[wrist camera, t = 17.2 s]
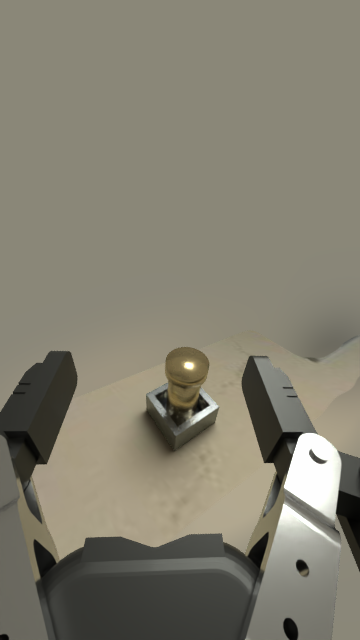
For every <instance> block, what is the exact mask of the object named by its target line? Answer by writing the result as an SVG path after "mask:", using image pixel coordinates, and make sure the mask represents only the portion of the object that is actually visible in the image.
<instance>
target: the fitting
mask: <svg viewBox="0 0 360 640" xmlns="http://www.w3.org/2000/svg"><path fill="white" fill-rule="evenodd" d="M208 370H209V361H208V358H207V357H206V356H205V355H204V354H203V353H202V352H201V351H199V350H197V349H194V348H190V347H181V348H177V349H174V350H173V351H171V352H170V353H169V354H168V355H167V357H166V365H165V374H166V377H167V379H168V393H167V405H166V412H167V413H168V415H169V416H170V417H171V419H172V420H173V421H174V423H175V424H176V425H177V427H178V426H180V425H181V424H183V423H184V422H186V421H187V420H189V419H190V418H192V417H193V416H195V412H196V407H197V402H198V397H199V393H200V388H201V385H202V384H203V383H204V382H205V380H206V378H207V374H208Z"/></svg>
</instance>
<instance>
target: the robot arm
mask: <svg viewBox="0 0 360 640" xmlns="http://www.w3.org/2000/svg"><path fill="white" fill-rule="evenodd" d="M76 386H77V372H76V369H75V366H74V362H73V358H72V355H71V353H70V352H69V351H50V352H49V353H48V355H47V356H46V358H45V360H44V362H43V363H36V364H35V365H33V366H32V367H31V368H30V369H29V370H28V371H26V372H25V374H24V376H23V377H22V379H21V380H20V382H19V385H17V387H16V388H15V390H14V391H13V394H12V395H11V396H10V398H9V399H8V401H7V403H6V404H5V406H4V407H3V409H2V411H1V412H0V640H331V638H332V629H333V620H334V610H335V600H336V590H337V581H338V571H339V561H340V552H341V537H340V533H339V531H337V530H336V529H335V524H334V523H335V514H337V517H338V519H339V522H340V524H341V526H342V529H343V532H344V534H345V536H346V539H347V542H348V544H349V546H350V548H351V551H352V554H353V556H354V559H355V561H356V564H357V566H358V569H359V571H360V458H358V457H354V456H351V455H348V454H345V453H342V452H339V451H337V450H336V449H335V447H334V446H333V445H332V444H331V443H330V442H329V441H328V440H326V439H325V438H323V437H321V436H319V435H318V434H317V432H316V430H315V429H314V427H313V425H312V423H311V421H310V419H309V417H308V415H307V413H306V411H305V409H304V407H303V405H302V403H301V401H300V399H299V398H298V395H297V393H296V391H295V390H294V389H293V386H292V384H291V382H290V380H289V378H288V376H287V375H286V374H285V373H284V372H283V371H282V370H281V369H280V368H273V365H272V363H271V361H270V359H269V358H268V357H267V356H250V357H249V359H248V362H247V365H246V368H245V371H244V374H243V377H242V390H243V394H244V397H245V400H246V404H247V407H248V410H249V414H250V417H251V420H252V424H253V427H254V430H255V434H256V437H257V441H258V444H259V447H260V451H261V454H262V457H263V461H264V463H274V465H275V468H276V472H275V474H274V477H273V480H272V483H271V486H270V489H269V492H268V495H267V498H266V501H265V504H264V507H263V510H262V513H261V516H260V518H259V521H258V523H257V525H256V527H255V529H254V531H253V533H252V536H251V539H250V541H249V544H248V547H247V549H246V552H245V554H244V553H242V552H241V551H240V550H238V549H237V548H235V547H233V546H231V545H229V544H227V543H224V542H223V538H222V534H191V535H187V536H185V537H182V538H179V539H177V540H174V541H172V542H169V543H167V544H164V545H162V546H159V547H150V546H147V545H144V544H141V543H138V542H135V541H132V540H129V539H126V538H123V537H95V538H86V539H85V544H84V547H82V548H79V549H77V550H76V551H74V552H72V553H70V554H69V555H67V556H66V557H64V558H63V559H61V560H60V559H59V556H58V553H57V549H56V546H55V544H54V541H53V539H52V536H51V534H50V532H49V530H48V528H47V525H46V522H45V519H44V515H43V512H42V509H41V505H40V502H39V498H38V495H37V492H36V488H35V485H34V482H33V478H32V476H31V475H32V473H33V470H34V468H35V466H36V464H47V462H48V460H49V457H50V454H51V452H52V449H53V447H54V444H55V441H56V439H57V436H58V434H59V431H60V428H61V426H62V423H63V420H64V418H65V415H66V413H67V410H68V407H69V405H70V402H71V400H72V397H73V394H74V392H75V389H76Z"/></svg>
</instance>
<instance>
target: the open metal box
mask: <svg viewBox="0 0 360 640" xmlns="http://www.w3.org/2000/svg"><path fill="white" fill-rule="evenodd" d="M167 393H168V383H166V384H164V385H162V386H161V387H159V388H157V389H155V390H153V391H151V392H149V393H147V394H146V404H147V411H148V413H149V414H150V416H151V417H152V419H153V420H154V421H155V423H156V424H157V426H158V427H159V429H160V430H161V432H162V433H163V435H164V436H165V438H166V439H167V441H168V442H169V444H170V445H171V447H172V448H173V450H174V451H175V450H177V449H178V448H179V447H181V446H182V445H184V444H185V443H186V442H188V441H189V440H191V439H192V438H193V437H195V436H196V435H198V434H199V433H200V432H202V431H203V430H205V429H206V428H207V427H209V426H210V425H212V424H213V423H214V422H215V420H216V417H217V413H218V409H219V406H218V405H217V404H216V403H215V402H214V401H213V400H212V399H211V398H210V396H209V395H208V394H207V393H206V392H205V391H204V390H203V389H202V388H200V393H199V397H198V402H197V407H196V412H195V416H193V417H192V418H190V419H189V420H187V421H186V422H184V423H183V424H181V425H180V426H178V427H177V425H176V424H175V423H174V421H173V420H172V419H171V417H170V416H169V415H168V413H167V412H166V405H167Z"/></svg>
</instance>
